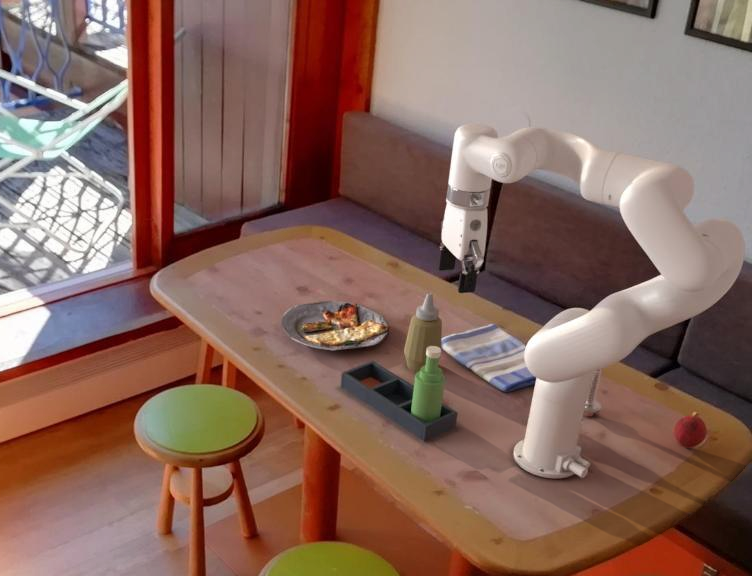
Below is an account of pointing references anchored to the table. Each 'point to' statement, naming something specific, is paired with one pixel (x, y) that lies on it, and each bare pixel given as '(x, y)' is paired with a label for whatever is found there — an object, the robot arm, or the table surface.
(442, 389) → the bottle
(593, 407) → the screw
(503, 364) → the dish towel
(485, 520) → the table surface
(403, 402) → the tray
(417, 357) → the squeeze bottle
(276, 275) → the table surface
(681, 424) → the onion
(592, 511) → the table surface
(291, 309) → the food plate
